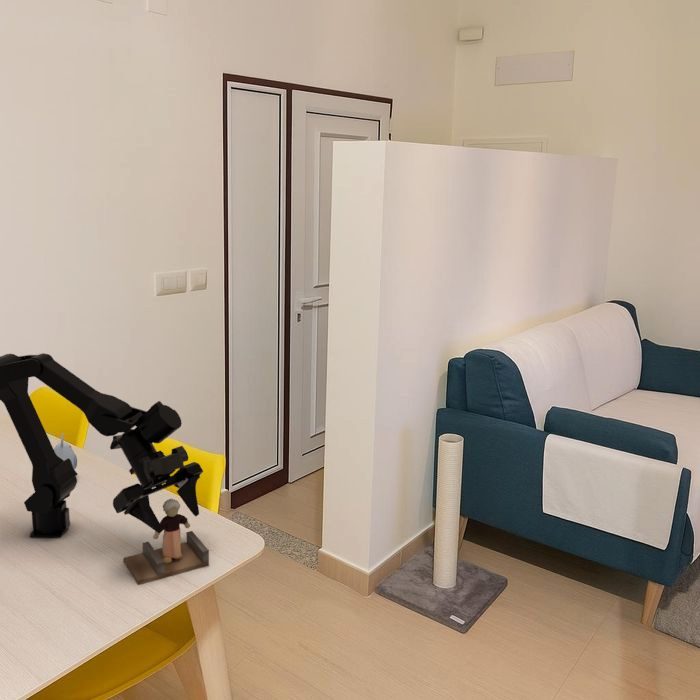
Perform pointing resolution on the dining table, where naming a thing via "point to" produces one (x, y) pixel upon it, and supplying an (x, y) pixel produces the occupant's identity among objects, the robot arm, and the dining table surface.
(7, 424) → the dining table surface
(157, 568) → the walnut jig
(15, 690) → the dining table surface
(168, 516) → the grandmother figurine
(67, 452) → the toy figure
